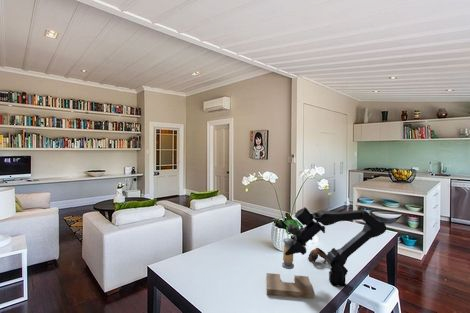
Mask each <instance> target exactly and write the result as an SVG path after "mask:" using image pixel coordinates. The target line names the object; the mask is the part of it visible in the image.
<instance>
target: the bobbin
mask: <svg viewBox="0 0 470 313" xmlns="http://www.w3.org/2000/svg"><path fill="white" fill-rule="evenodd" d="M282 241H283V243H284V244H283V248H282V249H283V252H282V253H283V256H282V261H283V262H282V263H281V265H282V266H281V267H282V268H284V269H285V270H293V269H294V267H295V264H294V263H293V262H294V254H291V255H285V253H286V252H287V250H288V249H289V248H290V247H291V246H292V241H293V242H294V240H293V239H291V237H288V238H287V237H286V238H283V239H282Z"/></svg>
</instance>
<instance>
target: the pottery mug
mask: <svg viewBox="0 0 470 313" xmlns="http://www.w3.org/2000/svg"><path fill="white" fill-rule="evenodd" d="M326 256H327V253H326V252H325V251H324V250H323V249H321V248H319V247H316V248H314V249H311V251H310V253H309V254H308V257H307V260H308V261H309V262H310V263H311V262H313V263H316V261H317V259H318V258H319V257H320V258H322V259H324V262H323V264H326V262H327V261H326Z"/></svg>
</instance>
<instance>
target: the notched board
mask: <svg viewBox="0 0 470 313" xmlns="http://www.w3.org/2000/svg"><path fill="white" fill-rule="evenodd" d="M293 278H294V279H293V280H294V282H289V281H287V282H285V281H281V274H279V273H268V272H266V279H265V280H266V282H265V283H266V295H268V296H276V297H277V296H278V297H288V298H289V297H290V298H300V299H301V298H302V299H311V300H314V298H315V293H314V290H313V287H312V283H311V281H310V278H309V276H306V275H295V274H294V277H293Z"/></svg>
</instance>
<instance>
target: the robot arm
mask: <svg viewBox="0 0 470 313" xmlns="http://www.w3.org/2000/svg"><path fill="white" fill-rule="evenodd" d="M294 218H295V219H297V221H298V222H299V223H300V224H302V226H303V227H302V226H301V227H298V226H297V225H295V224H293V223H289V224H288V226H287V228H286V230H287V232H288V233H289V234H290V239H293V240H294V242H293V241H292V246H291V247H290V248H289V249H288V250H287V252H286V253H285V255H291V254H293V255H295V254H299V253H300V254H301V255H302V256H303V255H305V254H306V253H307V248H306V246H307V243H308V242H309V241H312V240H313V238H314V237H315V236H316V235H317V234H318V233H319V232H320V231H321V233H323V234H326V226H330V225H335V224H336V223H338V222H347V221H358V220H362V221H363V222H364V223H365V224H364V225H363V228H362V230H361V231H360V232H358V233H357V234H356V235H355V236H354V237H352V238H351V239H350V240H349V241H347V242H346V243H345V244H344V245H343V246H342V247H341V248H338V249H336V248H335V247H332V248H331V250H329V251H327V253H326V255H327V256H326V262H327V264H328V265H329V266H330V271H329V270H328V280H329V282H330V285H331V286H333V287H347V283H346V275H347V274H348V272H349V270H348V269H347V268H346V267H345V264H347V261H348V258H349V257H351V256H352V254H354V252H356V251H357V250H359V249H360V248H361V247H362V246H363V245H365V244H366V243H367V242H368V241H369V240H371V239H373V238H377V237H379V236H381V235H383V234H384V233H385V232H386V231H387V225H386V223H384V222H383V221H382V220H379V219H377V218H375V217H374V216H373V215H371V214H370V213H369V212H368V211H366V210H364V209H361V208H360V209H357V210H356V209H355V210H346V211H331V210H318V212H312V213H311V212H310V211H309V209H308V208H307V207H306V206H303V208H301V209H299V210H297V211H296V212H295V214H294Z"/></svg>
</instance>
